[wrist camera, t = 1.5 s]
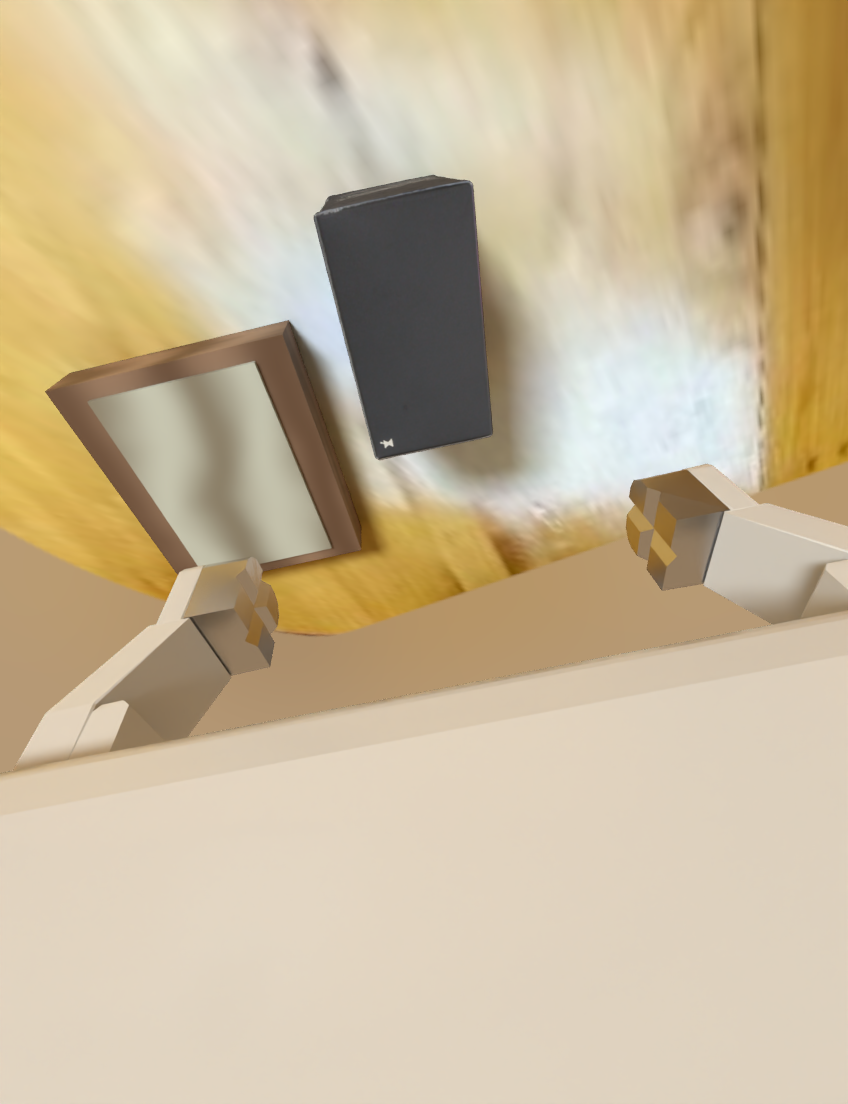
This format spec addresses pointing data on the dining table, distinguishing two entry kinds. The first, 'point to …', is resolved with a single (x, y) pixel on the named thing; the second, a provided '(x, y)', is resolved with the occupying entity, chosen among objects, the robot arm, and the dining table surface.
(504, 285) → the dining table surface
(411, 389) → the small box
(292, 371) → the walnut picture frame
